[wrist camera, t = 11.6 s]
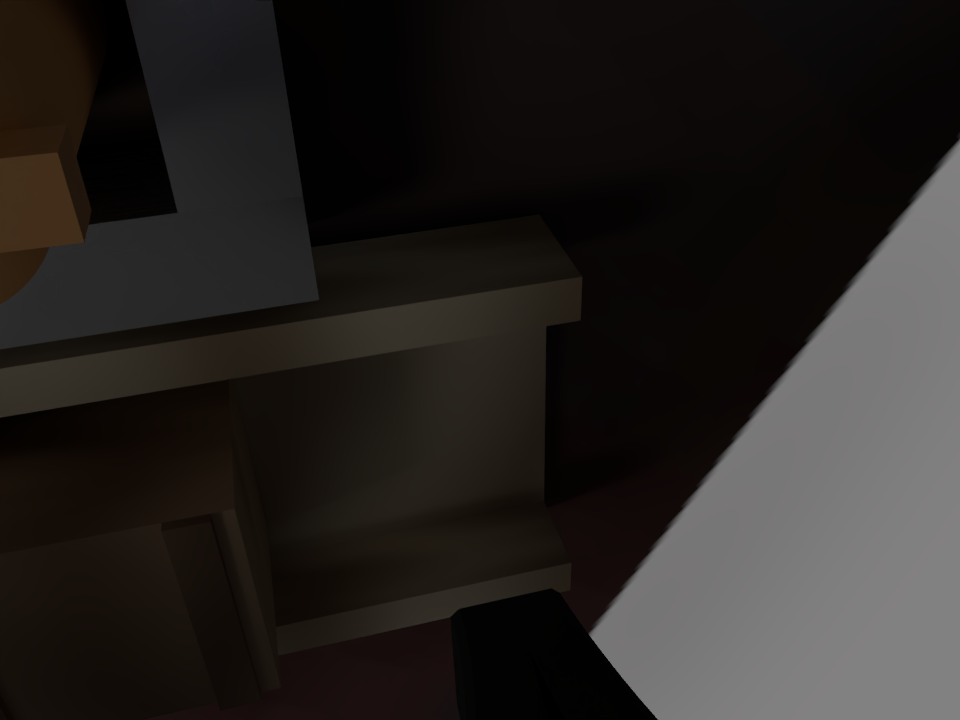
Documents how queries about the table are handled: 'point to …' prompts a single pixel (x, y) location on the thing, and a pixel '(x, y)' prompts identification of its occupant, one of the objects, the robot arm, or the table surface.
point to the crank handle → (44, 128)
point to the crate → (133, 559)
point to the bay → (372, 420)
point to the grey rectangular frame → (185, 190)
